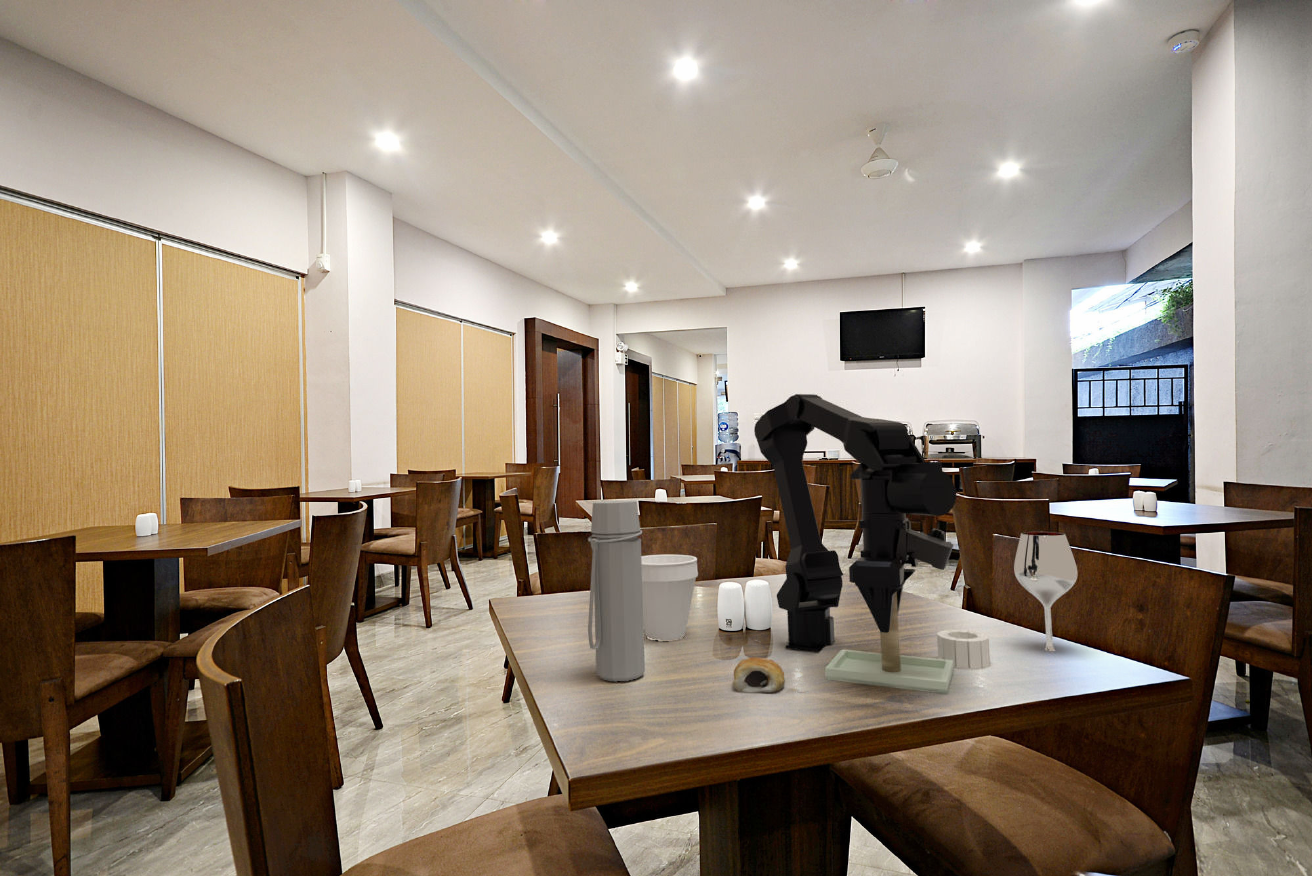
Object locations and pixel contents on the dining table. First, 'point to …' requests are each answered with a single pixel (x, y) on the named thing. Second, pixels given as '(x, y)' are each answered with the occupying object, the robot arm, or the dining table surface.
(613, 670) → the water bottle
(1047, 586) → the wineglass
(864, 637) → the dining table surface
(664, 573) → the cup
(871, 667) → the tray
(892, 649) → the dowel
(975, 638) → the holder
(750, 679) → the pastry
